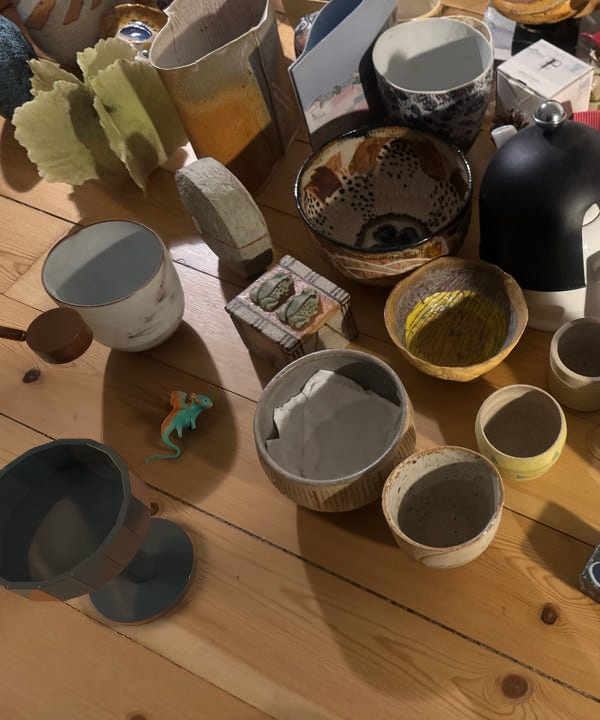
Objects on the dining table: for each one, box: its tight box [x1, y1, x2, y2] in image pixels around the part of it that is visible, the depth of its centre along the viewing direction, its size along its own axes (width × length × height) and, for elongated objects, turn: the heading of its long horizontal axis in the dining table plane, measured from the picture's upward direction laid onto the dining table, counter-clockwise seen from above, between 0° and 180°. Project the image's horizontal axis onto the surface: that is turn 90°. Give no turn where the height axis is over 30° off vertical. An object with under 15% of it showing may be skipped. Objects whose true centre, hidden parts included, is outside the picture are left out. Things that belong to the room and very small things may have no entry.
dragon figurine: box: [145, 390, 214, 465], centre depth 83 cm, size 6×7×8 cm
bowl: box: [0, 437, 199, 626], centre depth 67 cm, size 13×13×19 cm
